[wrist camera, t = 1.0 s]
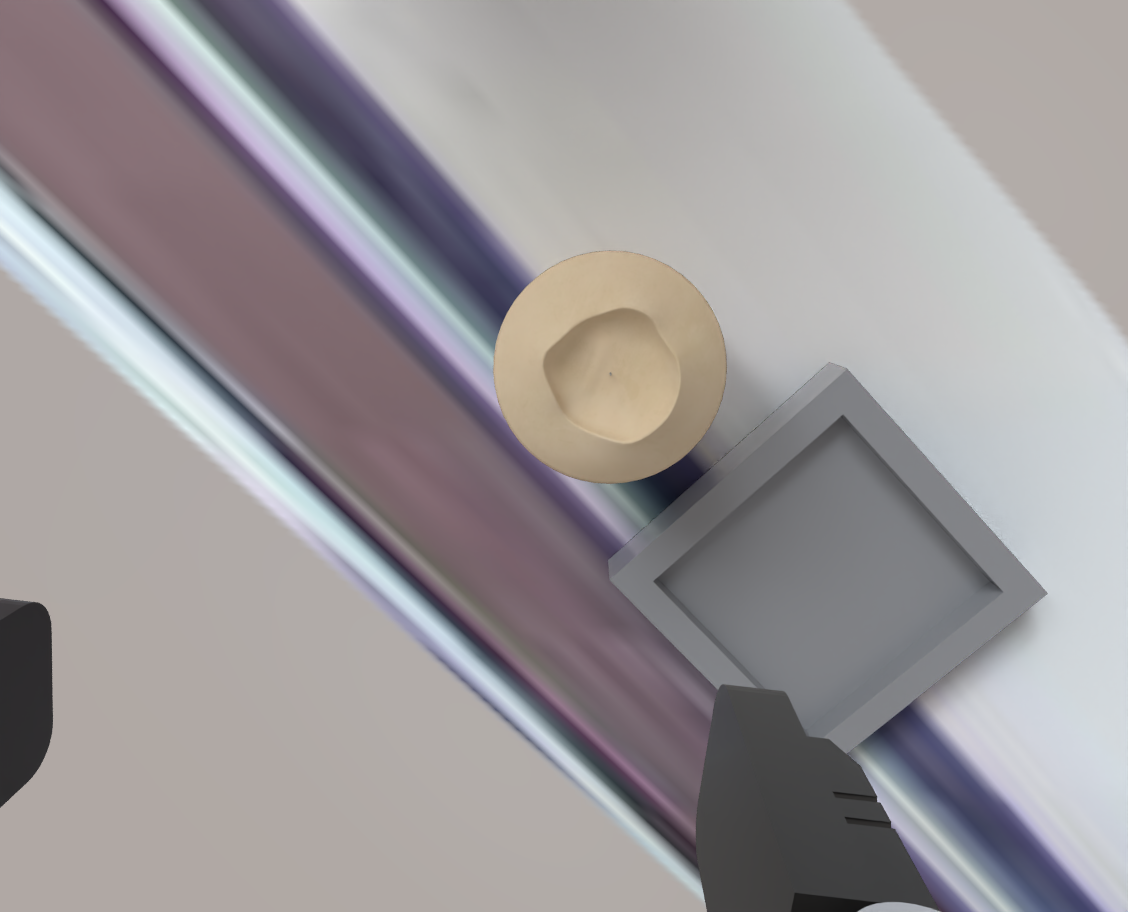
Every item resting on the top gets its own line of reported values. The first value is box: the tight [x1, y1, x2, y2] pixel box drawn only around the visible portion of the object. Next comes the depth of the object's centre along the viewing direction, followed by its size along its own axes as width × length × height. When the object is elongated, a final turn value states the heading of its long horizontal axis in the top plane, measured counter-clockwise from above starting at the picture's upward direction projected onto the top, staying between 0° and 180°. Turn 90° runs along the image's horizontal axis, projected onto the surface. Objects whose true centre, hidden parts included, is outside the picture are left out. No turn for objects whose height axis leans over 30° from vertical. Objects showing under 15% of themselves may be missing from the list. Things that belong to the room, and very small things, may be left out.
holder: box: [608, 363, 1048, 754], centre depth 29 cm, size 10×10×2 cm
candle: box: [493, 251, 727, 484], centre depth 24 cm, size 6×6×10 cm
